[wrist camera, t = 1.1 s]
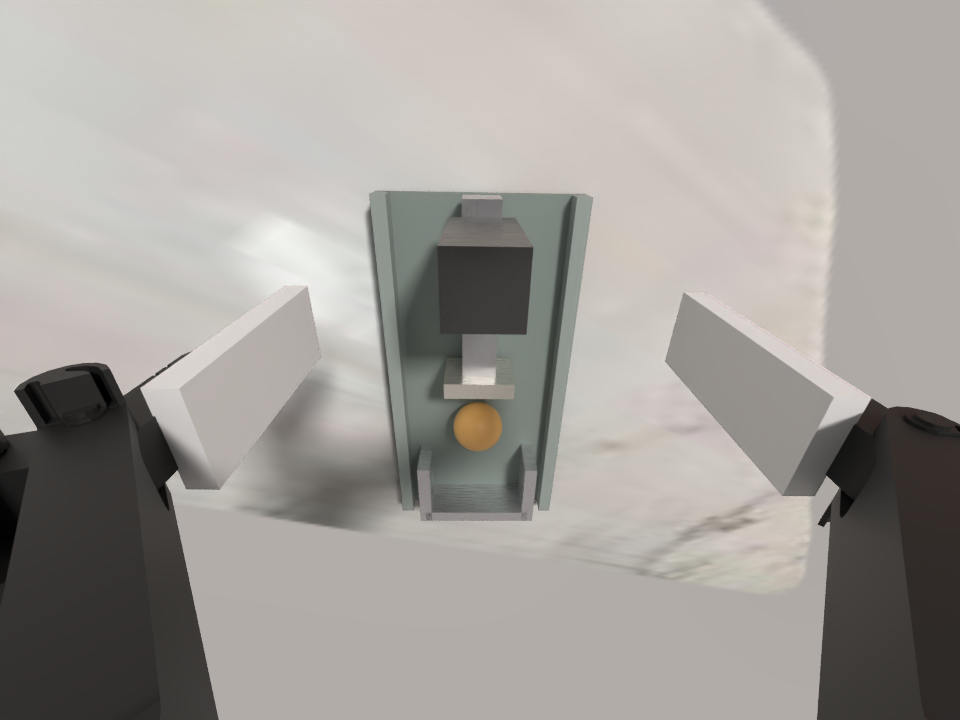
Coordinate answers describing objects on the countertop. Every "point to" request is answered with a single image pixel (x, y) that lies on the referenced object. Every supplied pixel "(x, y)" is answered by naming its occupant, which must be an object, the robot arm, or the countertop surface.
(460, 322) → the block
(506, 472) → the grey-green channel tray
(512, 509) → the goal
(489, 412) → the ball
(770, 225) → the countertop surface
